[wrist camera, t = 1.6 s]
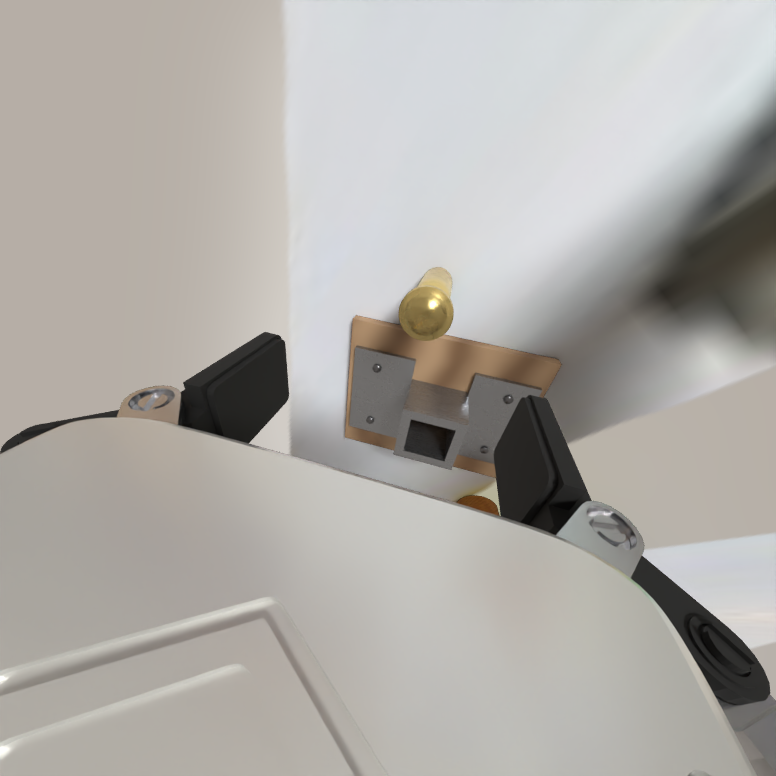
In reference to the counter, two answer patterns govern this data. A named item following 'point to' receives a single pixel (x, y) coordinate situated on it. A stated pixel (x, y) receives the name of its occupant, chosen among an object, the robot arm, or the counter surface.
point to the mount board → (446, 370)
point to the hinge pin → (428, 306)
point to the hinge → (431, 409)
